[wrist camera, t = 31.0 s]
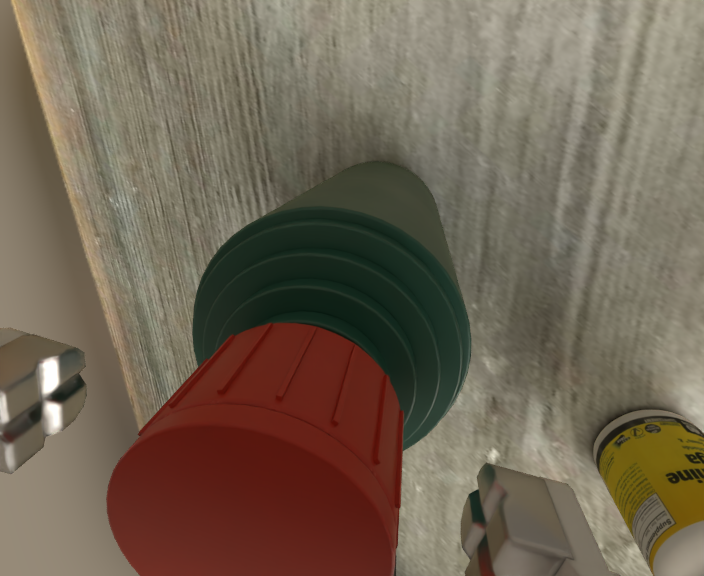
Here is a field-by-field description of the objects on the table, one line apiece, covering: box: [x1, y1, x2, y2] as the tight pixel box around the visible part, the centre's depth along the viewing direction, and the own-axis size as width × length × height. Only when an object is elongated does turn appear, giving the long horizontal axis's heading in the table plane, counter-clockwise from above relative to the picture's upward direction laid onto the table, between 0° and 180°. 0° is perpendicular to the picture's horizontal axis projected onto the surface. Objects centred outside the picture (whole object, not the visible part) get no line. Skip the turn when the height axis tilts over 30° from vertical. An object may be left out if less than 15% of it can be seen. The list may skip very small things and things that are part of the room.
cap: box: [106, 323, 404, 576], centre depth 7 cm, size 4×4×3 cm
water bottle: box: [192, 161, 471, 451], centre depth 14 cm, size 7×7×18 cm
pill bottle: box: [593, 410, 704, 576], centre depth 20 cm, size 6×6×11 cm
